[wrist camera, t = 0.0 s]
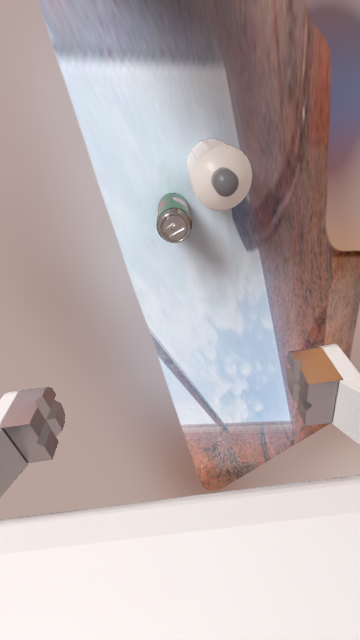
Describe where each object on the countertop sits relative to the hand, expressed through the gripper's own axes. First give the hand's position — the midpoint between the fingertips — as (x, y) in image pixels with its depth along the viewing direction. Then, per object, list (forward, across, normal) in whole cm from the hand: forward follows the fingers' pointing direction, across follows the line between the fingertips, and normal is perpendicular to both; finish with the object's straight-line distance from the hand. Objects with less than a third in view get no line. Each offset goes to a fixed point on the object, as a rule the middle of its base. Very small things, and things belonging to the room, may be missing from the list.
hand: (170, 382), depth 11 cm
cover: (+48, -7, 0) cm, 49 cm away
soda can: (+48, 0, +5) cm, 48 cm away
